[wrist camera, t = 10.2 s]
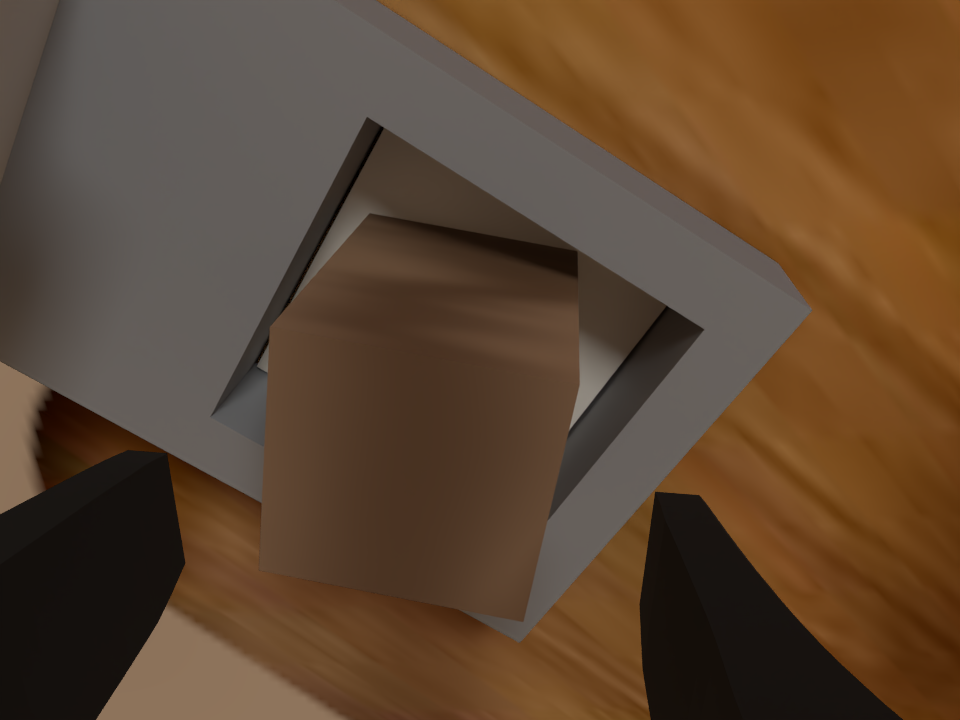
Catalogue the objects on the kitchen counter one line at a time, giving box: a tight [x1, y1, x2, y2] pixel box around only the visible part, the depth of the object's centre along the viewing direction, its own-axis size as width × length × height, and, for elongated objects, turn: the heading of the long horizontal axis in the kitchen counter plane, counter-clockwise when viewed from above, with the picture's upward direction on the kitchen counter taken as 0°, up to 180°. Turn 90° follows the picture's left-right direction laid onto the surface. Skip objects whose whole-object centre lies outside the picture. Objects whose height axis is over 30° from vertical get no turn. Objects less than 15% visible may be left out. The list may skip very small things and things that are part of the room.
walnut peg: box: [259, 213, 580, 622], centre depth 17 cm, size 5×5×7 cm
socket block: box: [0, 0, 812, 643], centre depth 15 cm, size 18×11×10 cm, turn 59°
